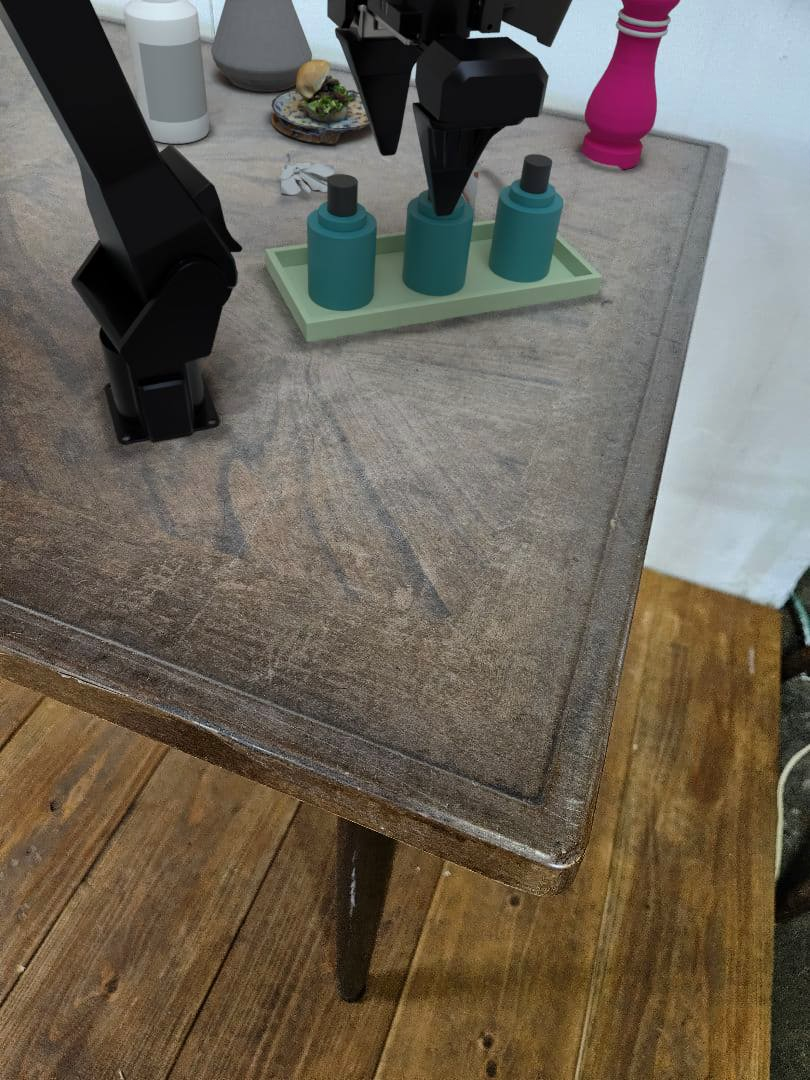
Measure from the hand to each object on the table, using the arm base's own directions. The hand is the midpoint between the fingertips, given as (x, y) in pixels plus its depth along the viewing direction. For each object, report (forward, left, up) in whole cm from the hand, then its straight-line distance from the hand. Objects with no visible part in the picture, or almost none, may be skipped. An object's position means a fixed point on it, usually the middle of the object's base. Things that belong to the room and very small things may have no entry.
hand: (414, 183), depth 54 cm
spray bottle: (-41, -9, -12) cm, 44 cm away
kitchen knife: (-24, +17, -12) cm, 32 cm away
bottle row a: (-6, +13, -11) cm, 19 cm away
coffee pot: (-55, -1, -12) cm, 57 cm away
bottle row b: (-6, -3, -11) cm, 13 cm away
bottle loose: (-6, +5, -11) cm, 14 cm away
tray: (-6, +5, -12) cm, 14 cm away
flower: (-25, +1, -12) cm, 28 cm away
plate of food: (-40, +7, -12) cm, 43 cm away
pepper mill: (-25, +34, -12) cm, 44 cm away
